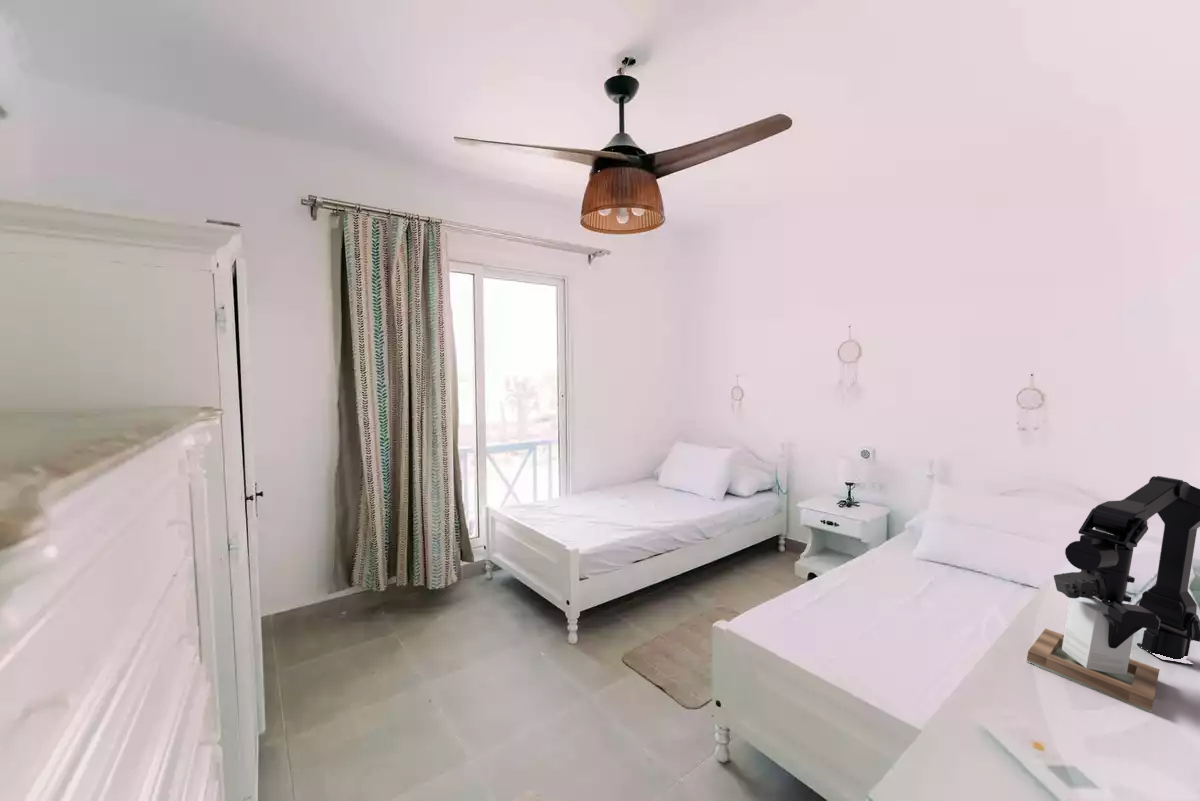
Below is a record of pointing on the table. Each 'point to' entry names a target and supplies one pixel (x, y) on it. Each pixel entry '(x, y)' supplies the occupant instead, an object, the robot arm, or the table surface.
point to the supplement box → (1093, 638)
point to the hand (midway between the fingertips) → (1097, 637)
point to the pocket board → (1096, 672)
